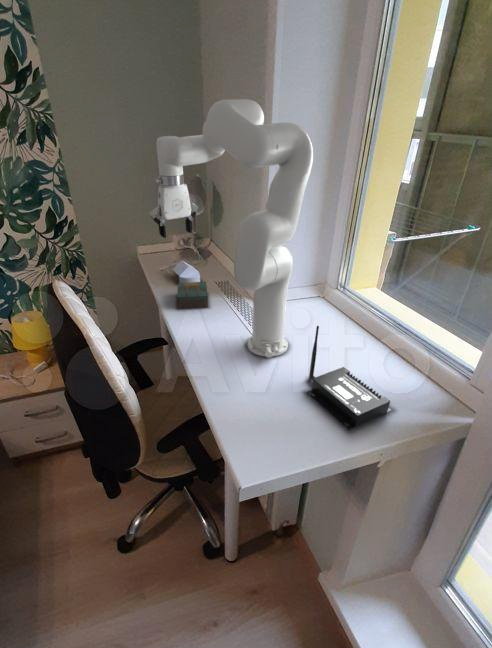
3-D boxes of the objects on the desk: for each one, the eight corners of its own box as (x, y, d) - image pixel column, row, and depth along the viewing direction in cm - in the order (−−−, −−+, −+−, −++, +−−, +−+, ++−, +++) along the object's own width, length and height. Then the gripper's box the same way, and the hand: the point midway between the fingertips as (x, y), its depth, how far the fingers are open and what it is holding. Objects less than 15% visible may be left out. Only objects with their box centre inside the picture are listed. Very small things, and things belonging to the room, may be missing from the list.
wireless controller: (392, 410, 94) (409, 352, 84) (349, 430, 88) (362, 371, 79) (336, 368, 109) (345, 315, 99) (296, 383, 103) (302, 329, 94)
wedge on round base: (173, 276, 168) (183, 287, 158) (171, 262, 164) (182, 272, 155) (192, 272, 171) (203, 283, 161) (191, 258, 168) (202, 268, 158)
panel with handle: (207, 298, 140) (207, 284, 137) (177, 300, 139) (176, 286, 136) (206, 284, 151) (205, 271, 148) (178, 285, 150) (177, 272, 147)
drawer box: (208, 307, 142) (207, 298, 140) (178, 309, 142) (177, 299, 140) (206, 293, 153) (206, 284, 151) (179, 294, 152) (178, 285, 150)
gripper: (150, 185, 115) (157, 241, 125) (201, 179, 122) (203, 232, 132) (142, 181, 121) (148, 235, 130) (190, 176, 128) (193, 227, 137)
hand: (176, 234), depth 131 cm, fingers open, 9 cm apart
